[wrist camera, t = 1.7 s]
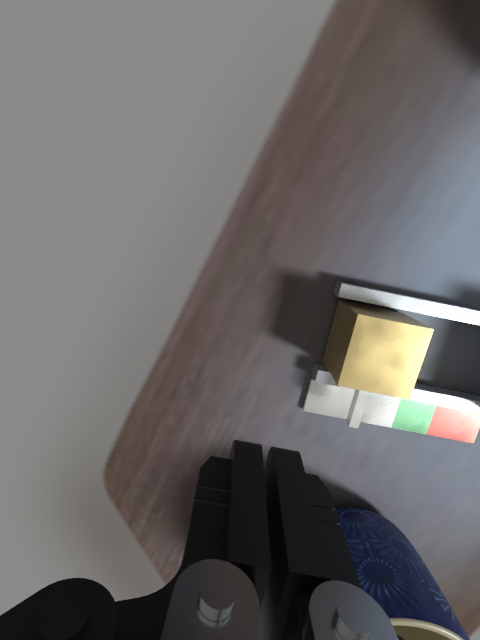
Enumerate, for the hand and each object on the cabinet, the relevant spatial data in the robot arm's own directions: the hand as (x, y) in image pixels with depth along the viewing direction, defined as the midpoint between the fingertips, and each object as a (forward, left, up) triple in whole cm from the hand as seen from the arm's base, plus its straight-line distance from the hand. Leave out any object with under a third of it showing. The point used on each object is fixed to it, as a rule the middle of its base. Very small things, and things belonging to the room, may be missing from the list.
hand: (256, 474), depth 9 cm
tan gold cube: (+2, +9, -19) cm, 21 cm away
